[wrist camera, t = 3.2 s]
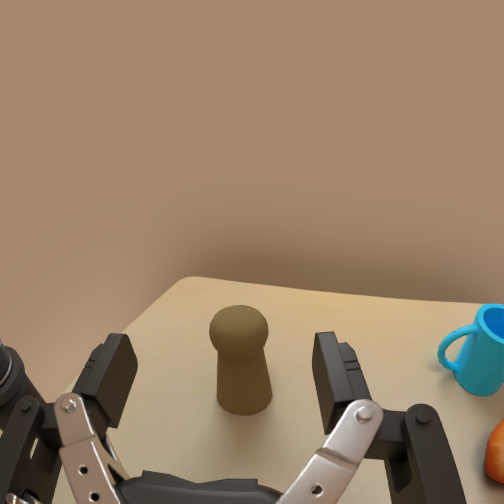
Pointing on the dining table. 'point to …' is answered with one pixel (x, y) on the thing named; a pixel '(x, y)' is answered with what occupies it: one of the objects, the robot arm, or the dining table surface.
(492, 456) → the fruit
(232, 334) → the cork
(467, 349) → the mug
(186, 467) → the dining table surface
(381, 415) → the robot arm
